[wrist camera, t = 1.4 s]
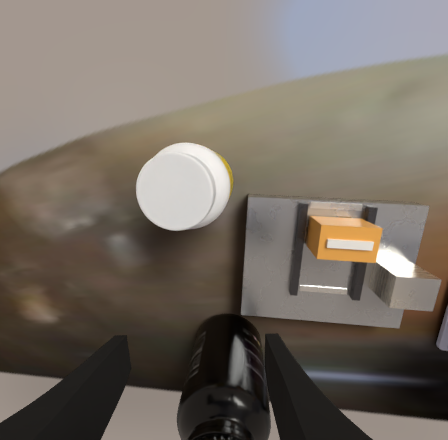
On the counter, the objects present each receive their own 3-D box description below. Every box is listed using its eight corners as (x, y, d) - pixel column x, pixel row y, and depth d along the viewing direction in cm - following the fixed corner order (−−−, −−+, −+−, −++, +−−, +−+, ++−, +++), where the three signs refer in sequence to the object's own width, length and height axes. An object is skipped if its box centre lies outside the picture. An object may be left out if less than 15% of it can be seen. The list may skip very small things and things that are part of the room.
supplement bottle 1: (221, 218, 22) (203, 260, 12) (167, 196, 22) (108, 221, 12) (243, 163, 20) (243, 162, 11) (186, 139, 20) (137, 118, 11)
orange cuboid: (361, 218, 19) (384, 229, 15) (355, 248, 19) (377, 264, 16) (309, 215, 19) (322, 225, 16) (305, 244, 19) (317, 260, 16)
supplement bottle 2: (217, 374, 26) (196, 545, 14) (185, 326, 25) (133, 469, 13) (273, 351, 25) (300, 519, 13) (242, 300, 24) (240, 432, 12)
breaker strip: (411, 201, 20) (465, 213, 15) (385, 314, 23) (424, 355, 18) (248, 193, 21) (249, 202, 16) (241, 302, 24) (240, 338, 19)
